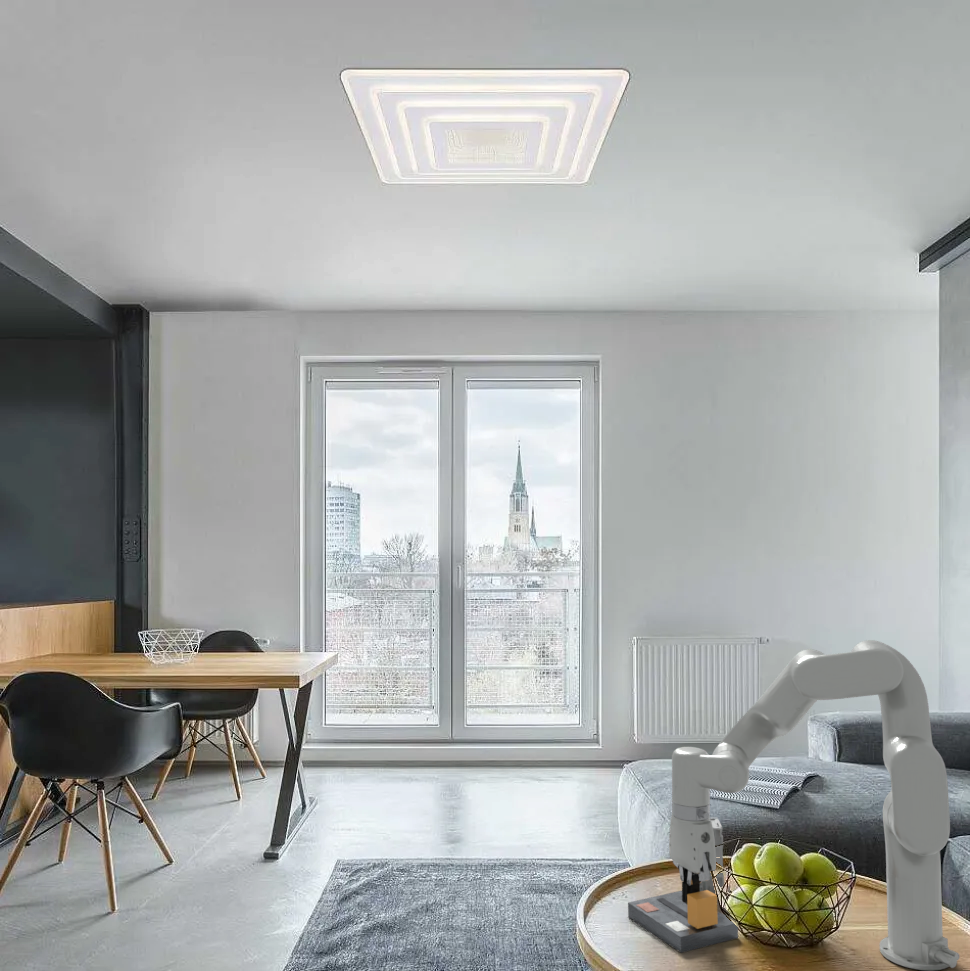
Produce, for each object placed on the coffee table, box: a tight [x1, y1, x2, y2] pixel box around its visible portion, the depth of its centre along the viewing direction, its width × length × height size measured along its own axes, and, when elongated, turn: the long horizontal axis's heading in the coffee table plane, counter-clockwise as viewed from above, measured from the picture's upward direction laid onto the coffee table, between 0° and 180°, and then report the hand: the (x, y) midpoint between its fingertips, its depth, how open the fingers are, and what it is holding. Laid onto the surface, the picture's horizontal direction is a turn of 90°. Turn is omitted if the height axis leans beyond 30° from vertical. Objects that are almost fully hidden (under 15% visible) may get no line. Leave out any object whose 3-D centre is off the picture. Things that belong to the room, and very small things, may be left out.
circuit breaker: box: [700, 816, 725, 894], centre depth 213 cm, size 8×14×15 cm, turn 174°
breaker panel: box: [627, 890, 739, 954], centre depth 190 cm, size 18×14×3 cm
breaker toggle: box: [687, 890, 718, 929], centre depth 184 cm, size 3×5×6 cm, turn 115°
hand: (690, 902), depth 188 cm, fingers closed
